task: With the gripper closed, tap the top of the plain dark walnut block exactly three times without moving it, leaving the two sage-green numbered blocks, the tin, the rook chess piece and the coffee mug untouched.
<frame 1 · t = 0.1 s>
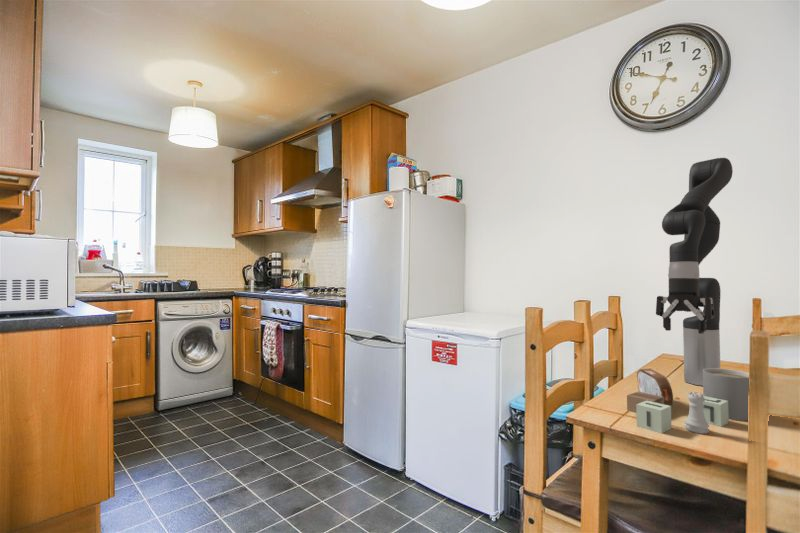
hand: (684, 331, 119), 17 cm above the table, tool pointing down, fingers open, 8 cm apart
coffee mug: (729, 412, 99), on the table
walnut block: (645, 412, 100), on the table
tin: (653, 404, 106), on the table
rook chess piece: (696, 431, 87), on the table
numbered block seven: (711, 421, 93), on the table
numbered block one: (654, 427, 89), on the table
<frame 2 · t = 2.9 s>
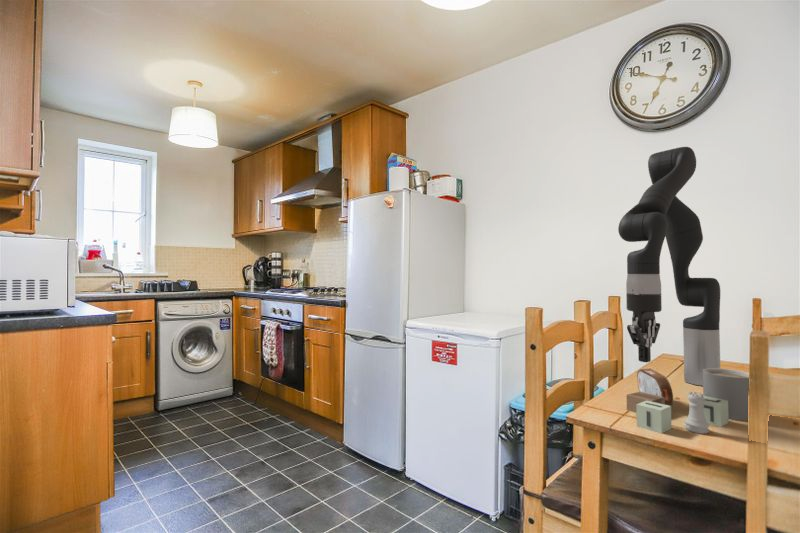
hand: (644, 361, 100), 12 cm above the table, tool pointing down, fingers closed
nothing on the table moved.
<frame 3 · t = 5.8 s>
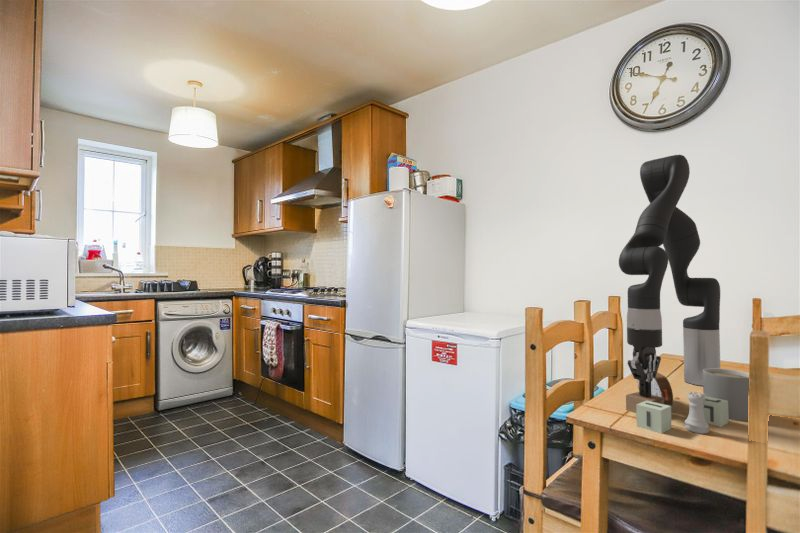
hand: (645, 396, 100), 4 cm above the table, tool pointing down, fingers closed
walnut block: (645, 412, 99), on the table, touching gripper
everything else where it was.
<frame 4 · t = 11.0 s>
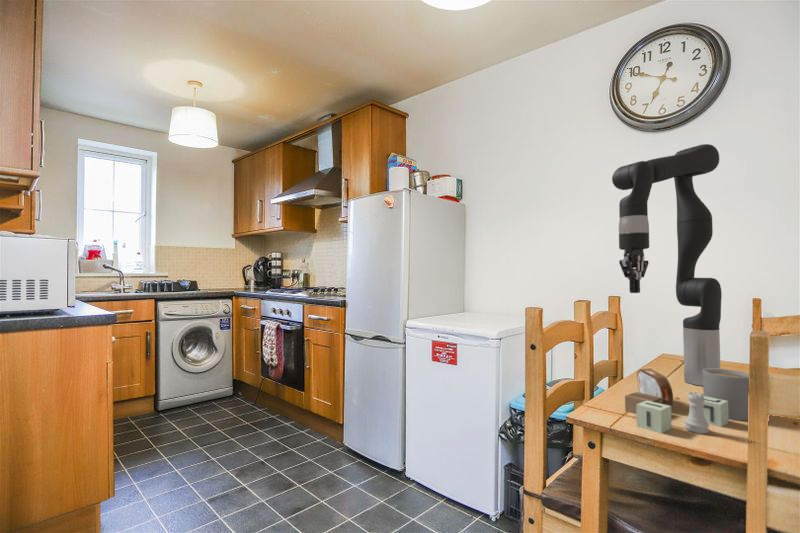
hand: (634, 292, 114), 29 cm above the table, tool pointing down, fingers closed
walnut block: (643, 412, 99), on the table
everything else where it was.
at the end: walnut block moved 0.9 cm from its start; walnut block tilted 0°; numbered block seven moved 0.1 cm from its start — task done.
